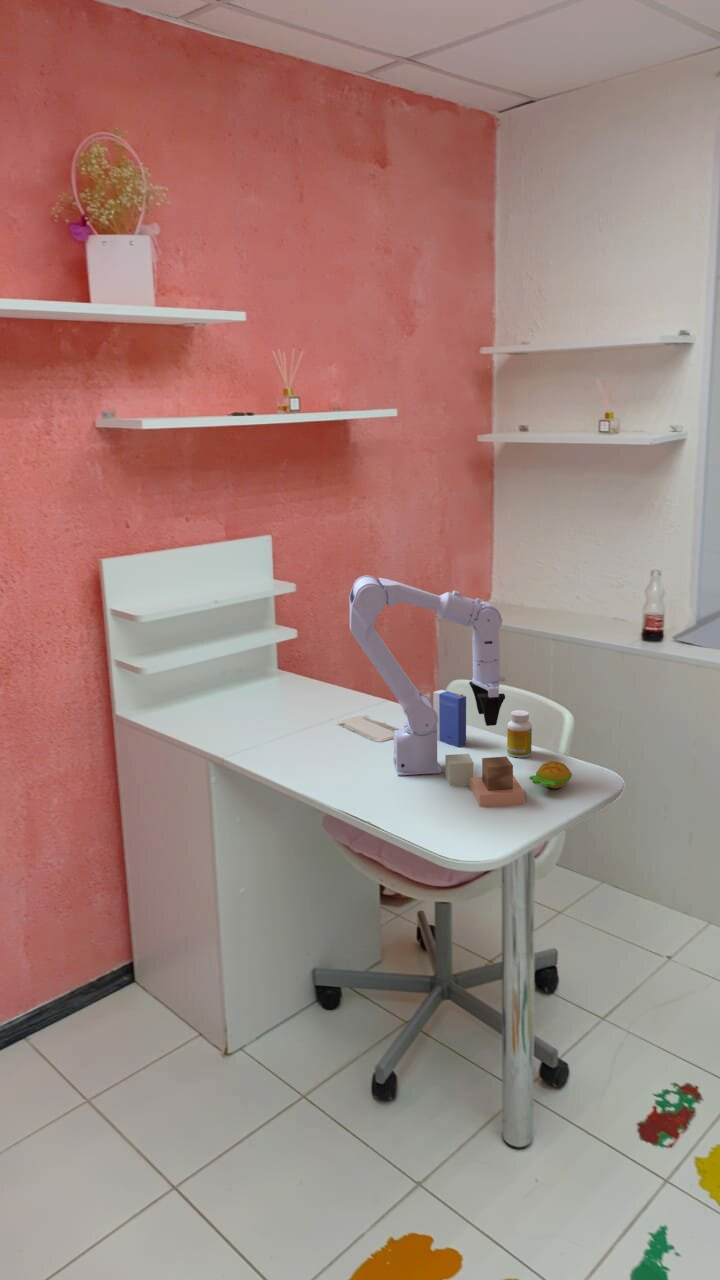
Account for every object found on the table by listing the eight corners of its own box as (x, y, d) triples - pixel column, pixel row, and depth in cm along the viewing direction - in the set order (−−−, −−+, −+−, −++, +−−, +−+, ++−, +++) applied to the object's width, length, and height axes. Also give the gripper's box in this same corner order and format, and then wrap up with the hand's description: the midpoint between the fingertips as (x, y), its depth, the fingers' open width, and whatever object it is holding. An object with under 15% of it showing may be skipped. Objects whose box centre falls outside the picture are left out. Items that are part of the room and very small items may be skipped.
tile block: (479, 809, 189) (479, 795, 189) (470, 790, 198) (470, 777, 197) (524, 806, 190) (524, 792, 189) (513, 788, 199) (513, 774, 198)
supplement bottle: (530, 759, 213) (531, 717, 210) (506, 757, 214) (506, 716, 211) (531, 750, 218) (532, 709, 216) (507, 749, 219) (508, 708, 217)
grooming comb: (411, 735, 231) (411, 732, 230) (378, 744, 225) (377, 741, 225) (365, 716, 245) (365, 713, 245) (333, 725, 239) (333, 722, 239)
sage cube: (449, 786, 200) (449, 763, 198) (445, 777, 204) (445, 754, 203) (473, 785, 200) (473, 762, 199) (468, 775, 205) (468, 753, 204)
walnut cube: (488, 790, 190) (488, 767, 189) (482, 781, 195) (482, 758, 194) (512, 789, 191) (512, 765, 190) (506, 779, 196) (506, 756, 195)
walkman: (466, 744, 223) (466, 694, 220) (458, 747, 221) (458, 697, 218) (440, 736, 228) (440, 687, 225) (433, 739, 227) (432, 690, 224)
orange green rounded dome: (578, 785, 198) (579, 760, 197) (552, 800, 191) (553, 775, 190) (549, 776, 203) (550, 753, 202) (522, 791, 196) (523, 767, 194)
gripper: (512, 666, 198) (513, 729, 201) (497, 648, 212) (498, 707, 215) (478, 669, 197) (480, 731, 201) (465, 650, 211) (466, 709, 215)
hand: (487, 719), depth 208 cm, fingers open, 7 cm apart
